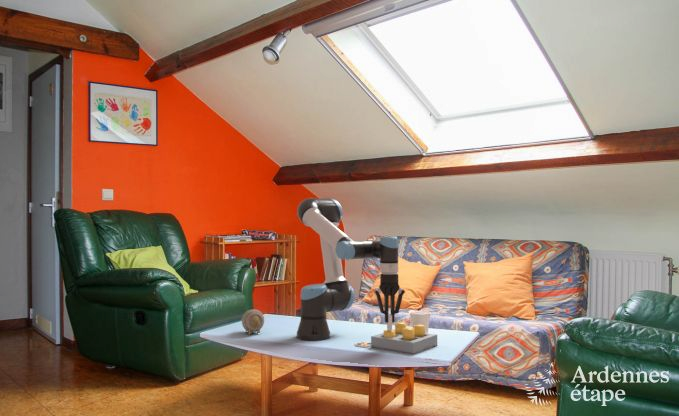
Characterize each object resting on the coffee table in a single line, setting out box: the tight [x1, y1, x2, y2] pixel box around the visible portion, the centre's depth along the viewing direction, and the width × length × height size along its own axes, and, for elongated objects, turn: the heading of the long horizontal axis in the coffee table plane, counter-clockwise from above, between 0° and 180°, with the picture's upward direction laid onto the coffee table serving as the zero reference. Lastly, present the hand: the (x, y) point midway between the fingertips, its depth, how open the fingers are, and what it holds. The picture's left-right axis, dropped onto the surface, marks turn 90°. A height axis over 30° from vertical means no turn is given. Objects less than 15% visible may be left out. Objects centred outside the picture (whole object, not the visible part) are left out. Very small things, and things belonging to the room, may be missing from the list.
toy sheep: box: [241, 308, 265, 335], centre depth 245 cm, size 11×17×11 cm, turn 24°
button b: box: [402, 327, 414, 341], centre depth 211 cm, size 5×5×5 cm
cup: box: [408, 310, 432, 334], centre depth 236 cm, size 10×10×11 cm
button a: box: [383, 329, 395, 338], centre depth 216 cm, size 5×5×5 cm
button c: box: [394, 321, 407, 334], centre depth 223 cm, size 5×5×5 cm
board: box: [370, 329, 438, 355], centre depth 217 cm, size 20×20×4 cm
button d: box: [413, 325, 425, 337], centre depth 218 cm, size 5×5×5 cm
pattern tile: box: [354, 341, 371, 349], centre depth 218 cm, size 6×6×1 cm
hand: (389, 330), depth 216 cm, fingers closed
